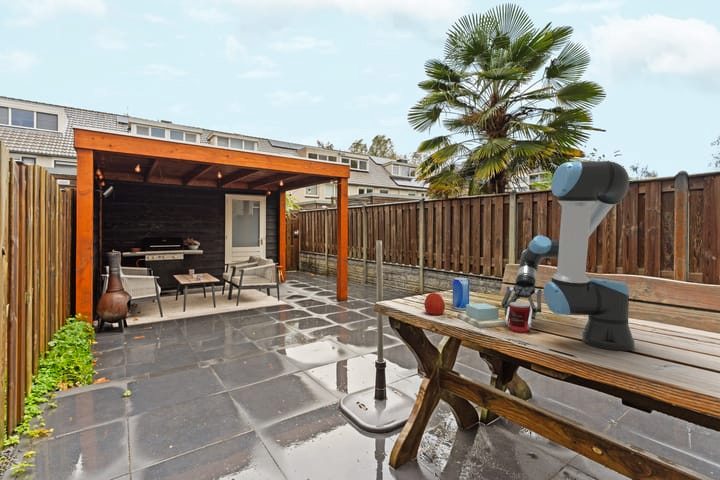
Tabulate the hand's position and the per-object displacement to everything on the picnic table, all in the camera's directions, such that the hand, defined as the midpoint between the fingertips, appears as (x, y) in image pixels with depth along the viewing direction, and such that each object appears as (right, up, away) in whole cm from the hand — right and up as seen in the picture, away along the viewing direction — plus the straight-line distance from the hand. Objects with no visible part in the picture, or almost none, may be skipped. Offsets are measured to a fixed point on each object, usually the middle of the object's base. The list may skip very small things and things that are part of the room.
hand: (517, 323), depth 135 cm
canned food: (+2, -4, +3) cm, 5 cm away
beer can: (-10, -3, +42) cm, 43 cm away
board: (-8, -3, +17) cm, 19 cm away
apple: (-26, -3, +32) cm, 42 cm away
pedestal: (-8, -1, +17) cm, 19 cm away
